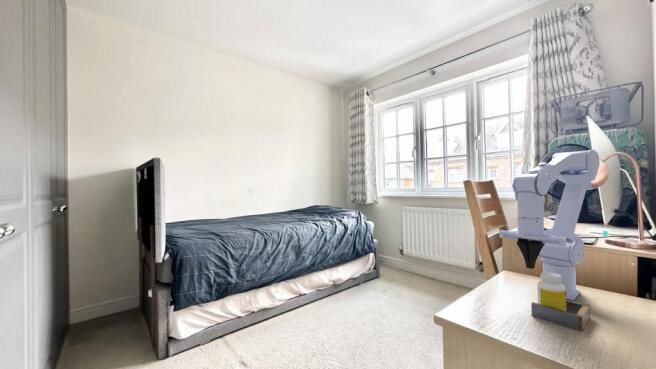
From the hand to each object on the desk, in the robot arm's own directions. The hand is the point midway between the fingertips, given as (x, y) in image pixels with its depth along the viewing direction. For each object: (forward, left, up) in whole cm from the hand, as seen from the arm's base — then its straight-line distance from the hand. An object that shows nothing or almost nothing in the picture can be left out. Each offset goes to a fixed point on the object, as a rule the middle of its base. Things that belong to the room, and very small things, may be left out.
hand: (530, 267), depth 73 cm
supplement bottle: (+5, +6, -10) cm, 12 cm away
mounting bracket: (+4, +7, -9) cm, 12 cm away
